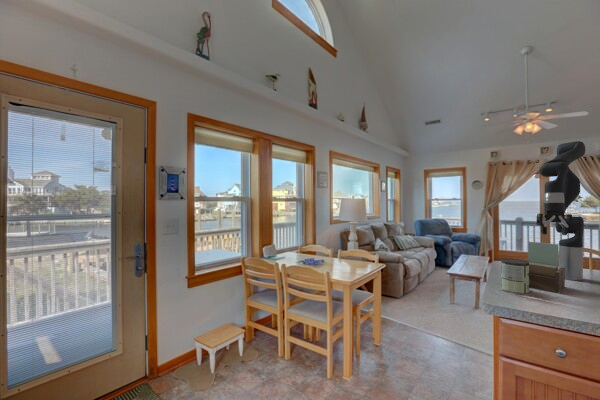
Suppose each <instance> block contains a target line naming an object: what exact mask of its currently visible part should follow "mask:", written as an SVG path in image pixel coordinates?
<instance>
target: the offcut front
mask: <svg viewBox="0 0 600 400" xmlns="http://www.w3.org/2000/svg"><path fill="white" fill-rule="evenodd" d="M529 272H531V273H537V274H543V275H549V276H555V272H556V267H550V266H543V265H537V264H530V263H529Z"/></svg>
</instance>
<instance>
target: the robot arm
mask: <svg viewBox="0 0 600 400" xmlns="http://www.w3.org/2000/svg"><path fill="white" fill-rule="evenodd" d="M585 154H586V145H585V143H584V142H583V141H580V140H578V141H575V140H574V141H569V142H564V143H559V144H558V145H557V148H556V156H554V158H552V159H551V160H548V161H546V162H544V163H543V164H541V166H540V167H539V173H540V175H541V176H542V177H545V178H550V177H555V179H554V180H550V181H546V182H545V183H544V194H543V195H544V196H543V212H544V213H540V212H539V213H537V214H536V222H535V223H536V226H540V232H541V234H542V235H544V236H546V235H547V234H548V227H547V226H548V225H549V224H550V223H555V230H556V232H557V233H560V234H561V236H568V235H567V234H573V236H571V237H569V238H568V237H567V238H564V239H560V240H559V241H558V244H559V250H558V270H559V269H560V268H561V267H562V268H565V280H569V281H570V280H571V281H579V282H580V281H583V280H584V230H585V229H584V228H585V221H584V218H583V217H581V216H576V215H575V216H573V214H571V213H569V214H568V213H566V211H567V209H568V207H570V205H571V204H572V203H573V202H574V201H575V200H576V199H577V198H578V197H579V195H580V194H581V179H580V178H579V177H578V175H576V174H575V173H574V172H573V171H572V170H571V169H570V167H569V165H570V164H571V163H573V162H575V161H576V160H578V159H580V158H582V157H584V156H585ZM565 213H566V214H565Z"/></svg>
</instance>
